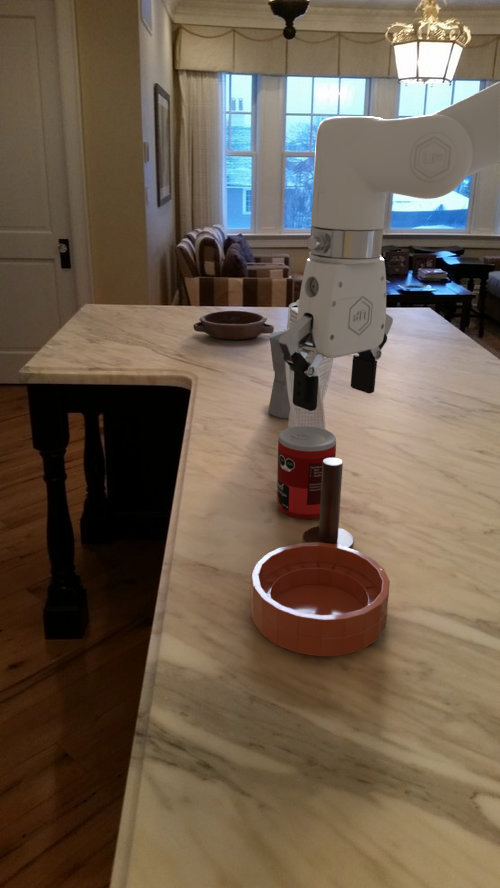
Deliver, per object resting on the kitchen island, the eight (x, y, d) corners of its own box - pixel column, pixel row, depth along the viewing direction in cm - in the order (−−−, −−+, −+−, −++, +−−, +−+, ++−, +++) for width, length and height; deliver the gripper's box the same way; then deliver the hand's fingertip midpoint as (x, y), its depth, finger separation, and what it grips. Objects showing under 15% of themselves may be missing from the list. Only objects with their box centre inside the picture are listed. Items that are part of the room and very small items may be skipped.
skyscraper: (315, 484, 108) (324, 301, 97) (271, 473, 111) (276, 295, 100) (335, 466, 114) (346, 292, 103) (294, 456, 117) (300, 287, 107)
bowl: (316, 565, 87) (318, 529, 85) (413, 620, 77) (417, 582, 75) (224, 611, 78) (224, 573, 76) (320, 681, 68) (322, 639, 66)
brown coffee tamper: (325, 537, 93) (331, 446, 88) (363, 556, 89) (371, 462, 84) (291, 553, 89) (294, 459, 84) (328, 575, 85) (334, 477, 80)
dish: (197, 326, 202) (196, 309, 200) (274, 328, 201) (274, 310, 199) (190, 342, 186) (189, 323, 184) (273, 343, 185) (273, 325, 183)
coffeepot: (256, 402, 142) (258, 314, 135) (299, 398, 145) (303, 311, 138) (284, 429, 129) (287, 332, 122) (331, 424, 131) (337, 329, 124)
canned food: (281, 492, 105) (283, 423, 101) (334, 498, 103) (339, 428, 99) (272, 516, 98) (273, 444, 94) (329, 522, 97) (333, 449, 92)
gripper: (314, 255, 66) (304, 424, 73) (424, 243, 77) (407, 392, 84) (260, 246, 72) (256, 405, 78) (371, 236, 82) (358, 377, 89)
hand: (334, 398), depth 81 cm, fingers open, 9 cm apart
